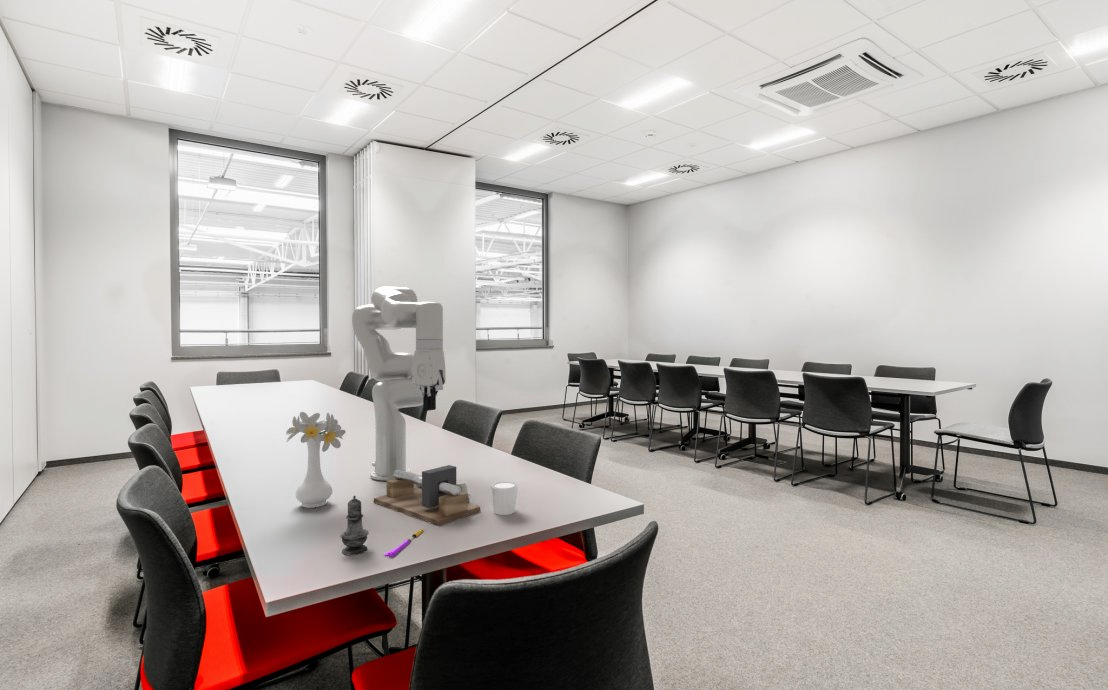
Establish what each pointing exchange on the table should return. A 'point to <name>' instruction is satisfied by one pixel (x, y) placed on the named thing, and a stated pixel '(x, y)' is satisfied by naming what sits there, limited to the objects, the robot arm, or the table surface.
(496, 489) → the shot glass
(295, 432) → the flower vase
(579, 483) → the table surface
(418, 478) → the pipe
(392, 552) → the purple and yellow tool
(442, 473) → the collar
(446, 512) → the pipe stand
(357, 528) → the salt shaker
